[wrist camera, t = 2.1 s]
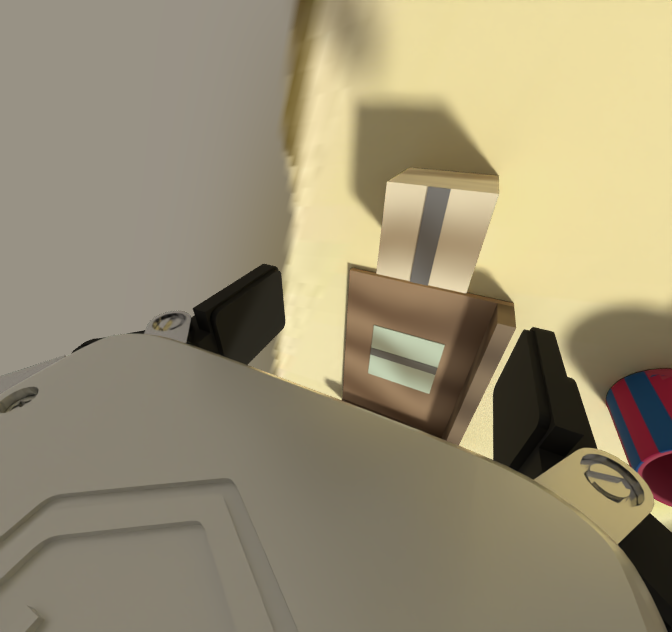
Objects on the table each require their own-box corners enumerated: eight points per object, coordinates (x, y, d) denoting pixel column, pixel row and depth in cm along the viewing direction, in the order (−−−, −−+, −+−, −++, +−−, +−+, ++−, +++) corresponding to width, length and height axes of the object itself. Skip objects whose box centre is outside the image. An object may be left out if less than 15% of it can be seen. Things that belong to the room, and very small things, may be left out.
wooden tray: (352, 267, 28) (336, 284, 25) (513, 303, 23) (516, 327, 21) (344, 401, 40) (332, 422, 37) (450, 441, 35) (446, 469, 32)
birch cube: (409, 167, 21) (386, 181, 17) (498, 175, 19) (499, 194, 15) (397, 244, 25) (375, 274, 20) (472, 258, 23) (466, 294, 18)
